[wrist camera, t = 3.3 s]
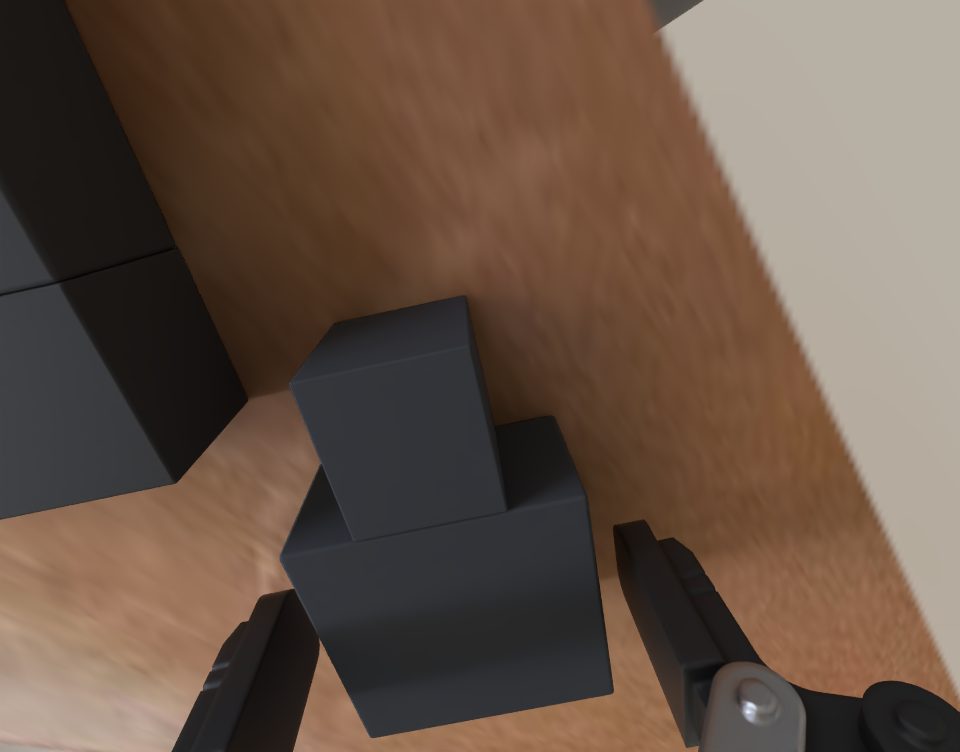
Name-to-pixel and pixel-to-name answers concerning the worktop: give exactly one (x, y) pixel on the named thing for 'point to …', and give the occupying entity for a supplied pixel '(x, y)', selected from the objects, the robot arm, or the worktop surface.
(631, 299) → the worktop surface
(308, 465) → the worktop surface
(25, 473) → the base pad
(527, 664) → the pad
